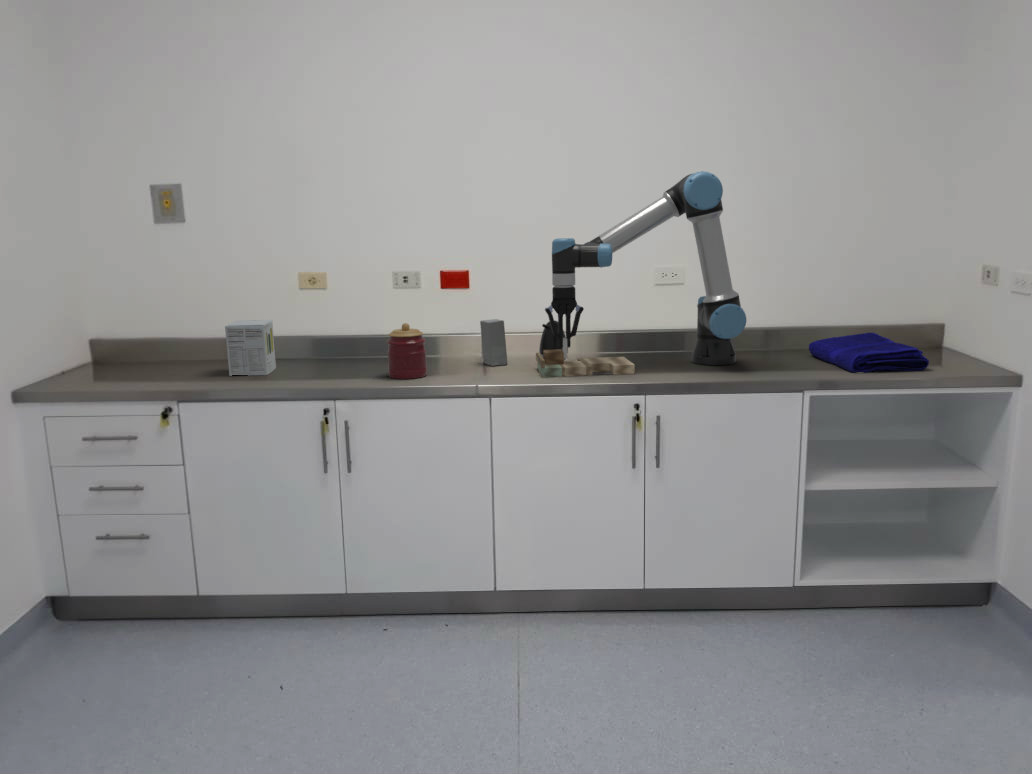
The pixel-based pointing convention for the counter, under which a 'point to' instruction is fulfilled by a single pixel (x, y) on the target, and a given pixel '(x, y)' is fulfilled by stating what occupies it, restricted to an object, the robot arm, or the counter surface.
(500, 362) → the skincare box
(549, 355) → the walnut block
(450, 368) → the counter surface
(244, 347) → the supplement box
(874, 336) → the towel
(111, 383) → the counter surface
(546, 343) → the pump dispenser
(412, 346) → the canister
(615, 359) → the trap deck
